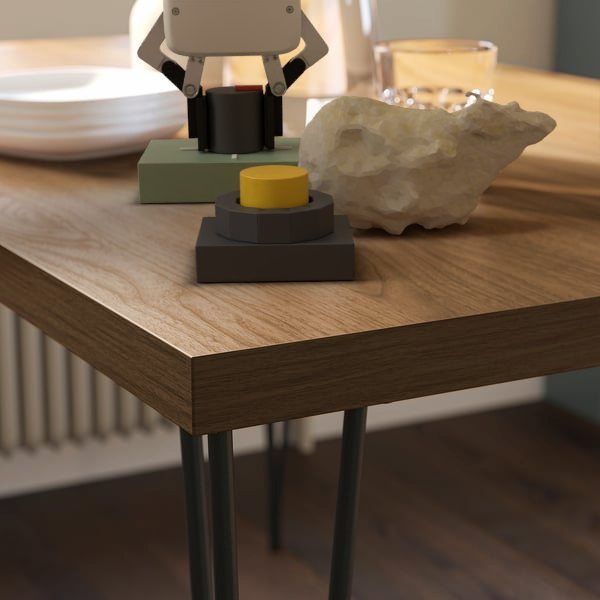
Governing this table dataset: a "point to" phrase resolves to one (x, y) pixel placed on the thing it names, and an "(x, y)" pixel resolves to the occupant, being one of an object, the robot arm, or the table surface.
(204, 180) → the dial panel
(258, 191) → the trigger button
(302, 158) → the cream lumpy rock
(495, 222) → the table surface
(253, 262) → the button housing
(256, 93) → the dial
